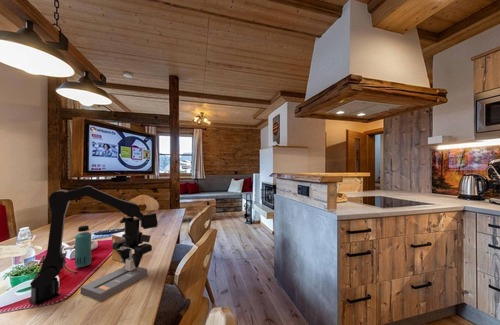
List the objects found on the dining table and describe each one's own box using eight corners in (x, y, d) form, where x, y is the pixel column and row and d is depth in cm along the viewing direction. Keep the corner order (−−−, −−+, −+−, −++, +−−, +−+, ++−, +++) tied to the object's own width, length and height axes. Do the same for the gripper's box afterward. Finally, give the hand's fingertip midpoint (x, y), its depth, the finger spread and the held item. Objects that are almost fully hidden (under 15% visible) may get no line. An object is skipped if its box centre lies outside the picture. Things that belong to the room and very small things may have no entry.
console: (100, 301, 75) (100, 293, 75) (80, 293, 80) (80, 286, 80) (147, 274, 93) (147, 268, 93) (129, 269, 98) (129, 264, 98)
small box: (111, 259, 110) (111, 234, 110) (123, 254, 115) (123, 231, 115) (120, 262, 106) (120, 236, 106) (132, 257, 111) (132, 233, 111)
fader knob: (130, 273, 90) (130, 260, 91) (125, 272, 92) (125, 259, 92) (138, 269, 94) (138, 256, 94) (133, 268, 95) (133, 255, 96)
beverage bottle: (89, 263, 105) (89, 223, 106) (93, 266, 101) (93, 225, 102) (72, 267, 100) (73, 226, 101) (76, 272, 96) (76, 228, 97)
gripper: (161, 228, 97) (161, 262, 97) (134, 224, 104) (133, 255, 104) (140, 235, 87) (140, 273, 86) (111, 230, 94) (111, 265, 94)
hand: (131, 266), depth 93 cm, fingers open, 6 cm apart
